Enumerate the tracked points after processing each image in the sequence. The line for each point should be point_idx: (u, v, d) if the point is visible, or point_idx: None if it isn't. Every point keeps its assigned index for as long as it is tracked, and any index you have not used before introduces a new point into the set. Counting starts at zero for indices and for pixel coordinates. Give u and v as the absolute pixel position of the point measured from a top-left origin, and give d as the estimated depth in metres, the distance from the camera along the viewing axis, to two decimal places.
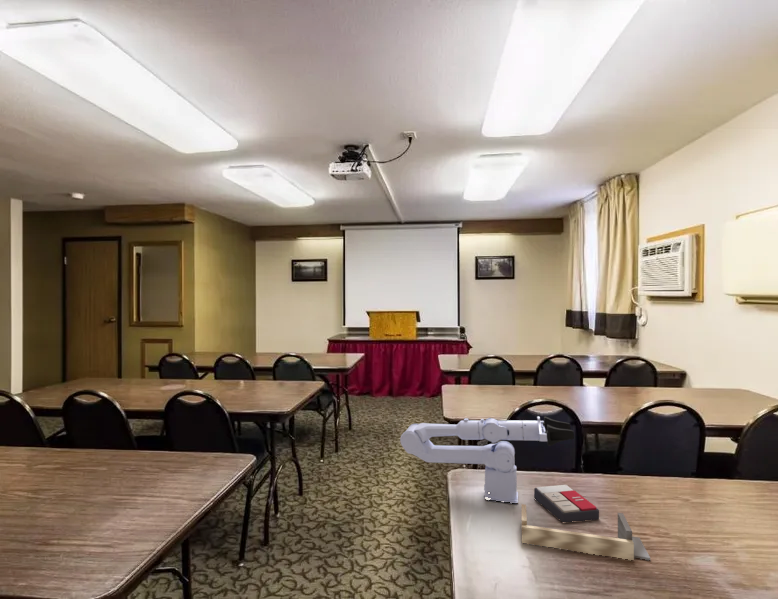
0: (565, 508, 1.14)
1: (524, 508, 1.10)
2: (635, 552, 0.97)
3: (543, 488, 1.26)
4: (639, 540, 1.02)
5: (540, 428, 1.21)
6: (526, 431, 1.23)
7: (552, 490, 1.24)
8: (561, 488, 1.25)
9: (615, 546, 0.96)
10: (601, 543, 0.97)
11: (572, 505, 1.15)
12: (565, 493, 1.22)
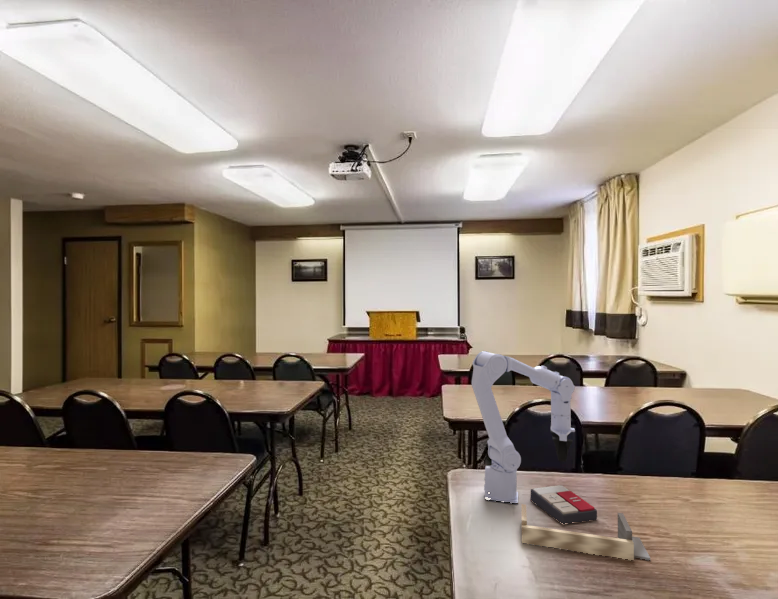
0: (564, 509, 1.13)
1: (524, 508, 1.10)
2: (635, 552, 0.97)
3: (540, 489, 1.25)
4: (639, 540, 1.02)
5: (568, 433, 1.28)
6: (563, 419, 1.29)
7: (549, 491, 1.23)
8: (557, 489, 1.25)
9: (615, 546, 0.96)
10: (601, 543, 0.97)
11: (570, 506, 1.15)
12: (562, 494, 1.21)
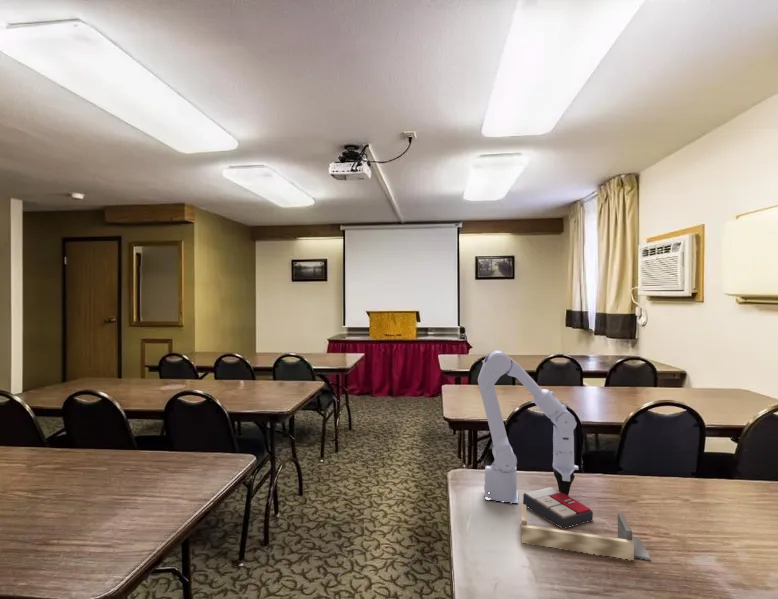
0: (563, 513, 1.11)
1: (524, 508, 1.10)
2: (635, 552, 0.97)
3: (532, 493, 1.22)
4: (639, 540, 1.02)
5: (571, 472, 1.21)
6: (566, 456, 1.22)
7: (542, 494, 1.21)
8: (549, 491, 1.23)
9: (615, 546, 0.96)
10: (601, 543, 0.97)
11: (568, 509, 1.13)
12: (555, 496, 1.20)
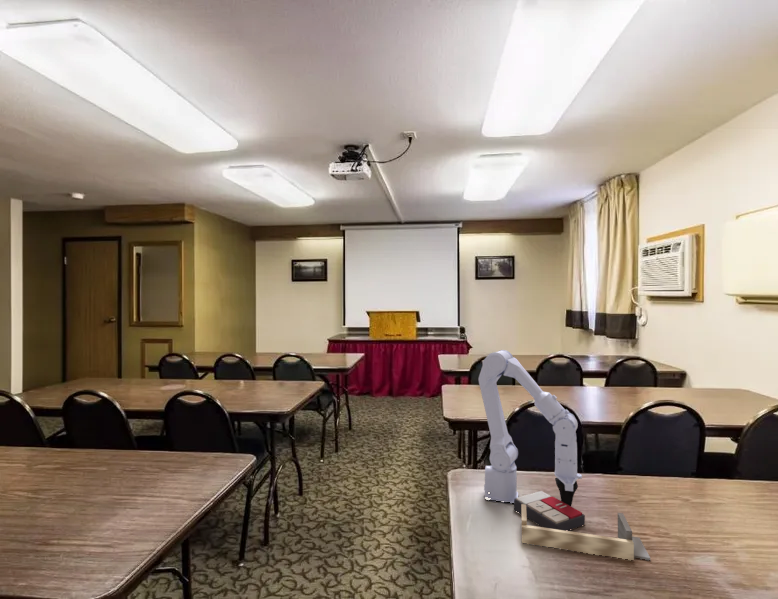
0: (556, 518, 1.08)
1: (524, 508, 1.10)
2: (635, 552, 0.97)
3: (523, 498, 1.19)
4: (639, 540, 1.02)
5: (574, 481, 1.14)
6: (568, 465, 1.16)
7: (532, 499, 1.18)
8: (539, 495, 1.20)
9: (615, 546, 0.96)
10: (601, 543, 0.97)
11: (560, 514, 1.10)
12: (546, 501, 1.17)
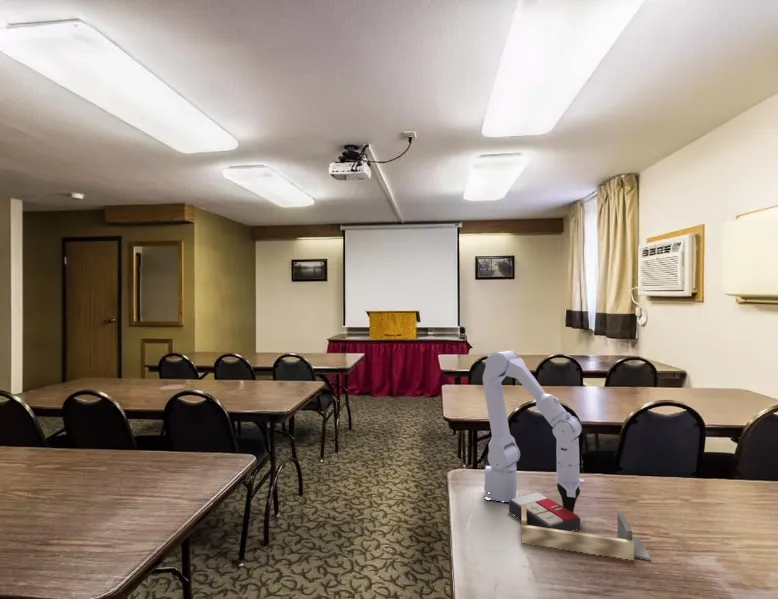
0: (550, 521, 1.06)
1: (524, 508, 1.10)
2: (635, 552, 0.97)
3: (518, 499, 1.18)
4: (639, 540, 1.02)
5: (576, 487, 1.10)
6: (570, 469, 1.12)
7: (528, 501, 1.17)
8: (535, 497, 1.19)
9: (615, 546, 0.96)
10: (601, 543, 0.97)
11: (555, 516, 1.09)
12: (542, 503, 1.15)
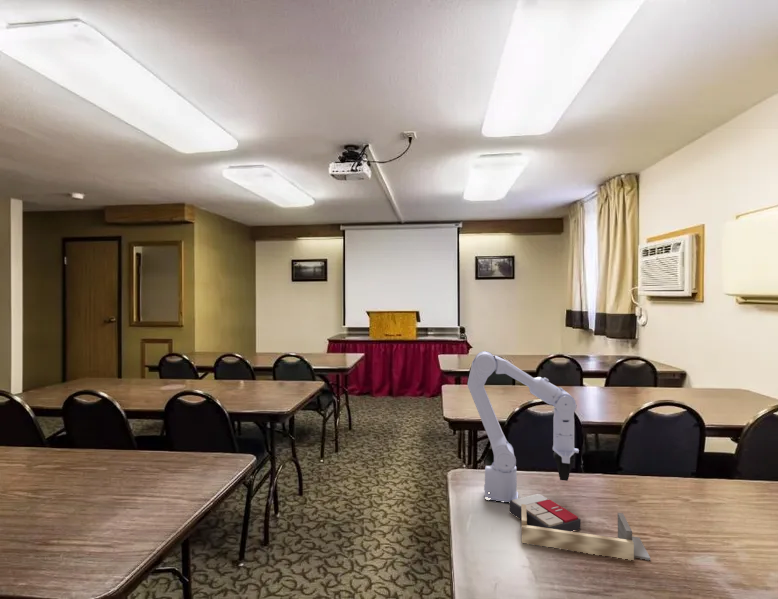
0: (549, 522, 1.06)
1: (524, 508, 1.10)
2: (635, 552, 0.97)
3: (519, 500, 1.18)
4: (639, 540, 1.02)
5: (571, 455, 1.20)
6: (566, 439, 1.21)
7: (528, 501, 1.17)
8: (536, 498, 1.19)
9: (615, 546, 0.96)
10: (601, 543, 0.97)
11: (554, 517, 1.09)
12: (542, 504, 1.15)
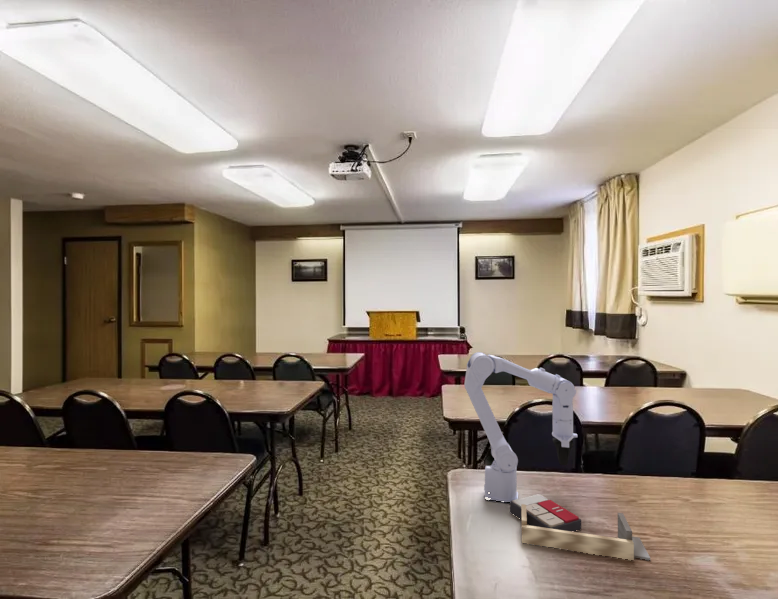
0: (550, 522, 1.06)
1: (524, 508, 1.10)
2: (635, 552, 0.97)
3: (519, 500, 1.17)
4: (639, 540, 1.02)
5: (570, 439, 1.22)
6: (565, 424, 1.24)
7: (529, 502, 1.16)
8: (536, 498, 1.19)
9: (615, 546, 0.96)
10: (601, 543, 0.97)
11: (555, 517, 1.08)
12: (543, 504, 1.15)
